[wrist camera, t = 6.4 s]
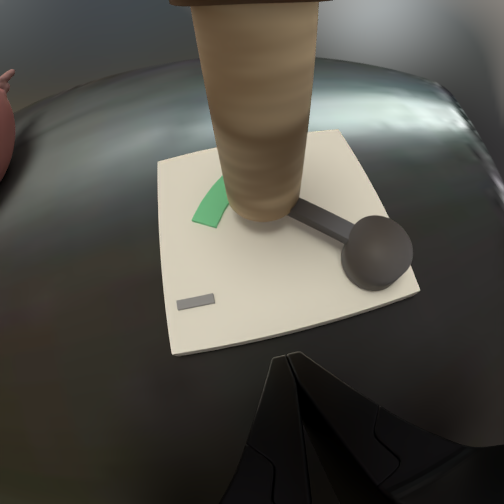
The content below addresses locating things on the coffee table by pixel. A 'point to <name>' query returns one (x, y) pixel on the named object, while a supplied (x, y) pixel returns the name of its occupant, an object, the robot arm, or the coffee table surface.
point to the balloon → (6, 124)
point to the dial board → (260, 253)
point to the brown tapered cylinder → (279, 126)
